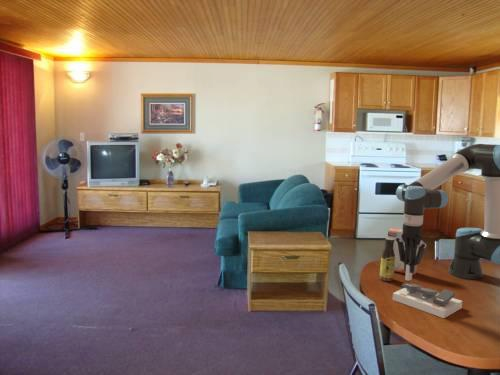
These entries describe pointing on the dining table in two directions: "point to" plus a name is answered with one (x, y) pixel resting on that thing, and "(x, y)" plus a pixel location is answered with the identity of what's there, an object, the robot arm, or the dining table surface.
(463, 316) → the dining table surface
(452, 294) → the switch
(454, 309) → the switch panel
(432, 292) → the switch middle
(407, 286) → the switch
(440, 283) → the dining table surface
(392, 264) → the sauce bottle
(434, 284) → the dining table surface
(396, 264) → the cracker box
